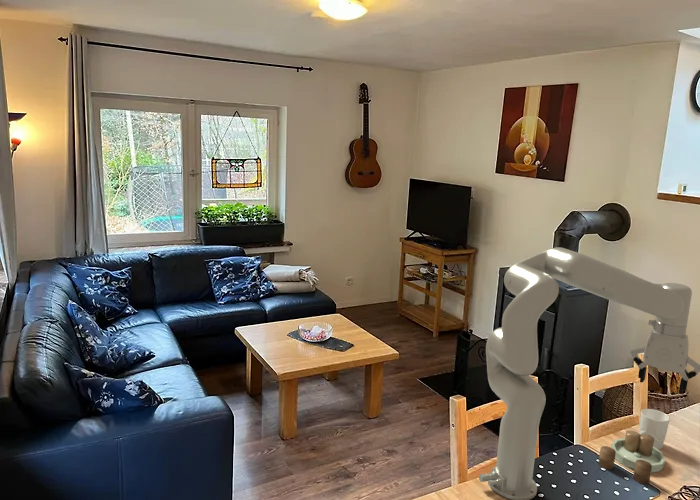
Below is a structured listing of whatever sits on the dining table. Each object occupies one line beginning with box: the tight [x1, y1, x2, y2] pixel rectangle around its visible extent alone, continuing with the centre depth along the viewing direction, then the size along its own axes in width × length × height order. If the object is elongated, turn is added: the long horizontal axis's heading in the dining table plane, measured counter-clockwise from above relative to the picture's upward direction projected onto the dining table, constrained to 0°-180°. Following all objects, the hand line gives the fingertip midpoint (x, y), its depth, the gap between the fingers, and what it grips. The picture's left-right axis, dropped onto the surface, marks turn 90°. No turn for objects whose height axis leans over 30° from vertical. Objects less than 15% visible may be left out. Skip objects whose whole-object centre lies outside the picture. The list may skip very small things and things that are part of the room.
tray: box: [610, 430, 666, 474], centre depth 158 cm, size 14×14×6 cm
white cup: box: [638, 408, 671, 450], centre depth 167 cm, size 8×8×10 cm
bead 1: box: [597, 445, 616, 470], centre depth 154 cm, size 4×4×5 cm
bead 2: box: [632, 460, 652, 485], centre depth 148 cm, size 4×4×5 cm
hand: (661, 386), depth 148 cm, fingers open, 9 cm apart
